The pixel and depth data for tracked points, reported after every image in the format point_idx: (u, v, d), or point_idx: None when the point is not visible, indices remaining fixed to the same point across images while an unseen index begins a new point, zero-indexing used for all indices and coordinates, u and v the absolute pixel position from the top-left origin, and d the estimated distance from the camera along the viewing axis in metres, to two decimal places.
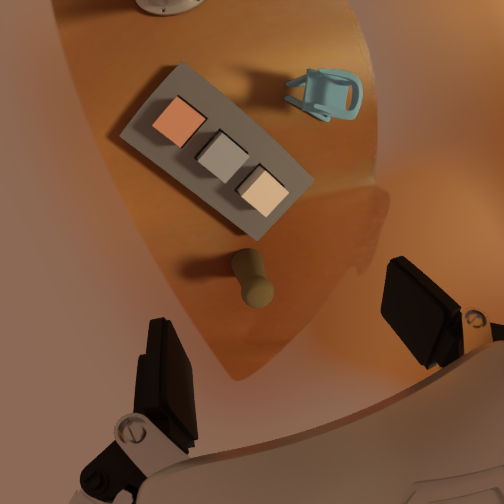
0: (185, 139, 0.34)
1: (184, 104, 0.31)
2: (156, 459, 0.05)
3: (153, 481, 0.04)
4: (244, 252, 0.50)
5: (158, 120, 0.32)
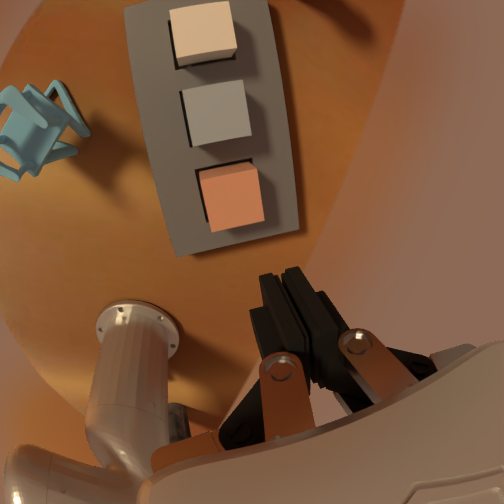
0: (243, 173, 0.23)
1: (210, 216, 0.25)
2: (283, 403, 0.06)
3: (153, 481, 0.04)
4: None
5: (253, 220, 0.26)
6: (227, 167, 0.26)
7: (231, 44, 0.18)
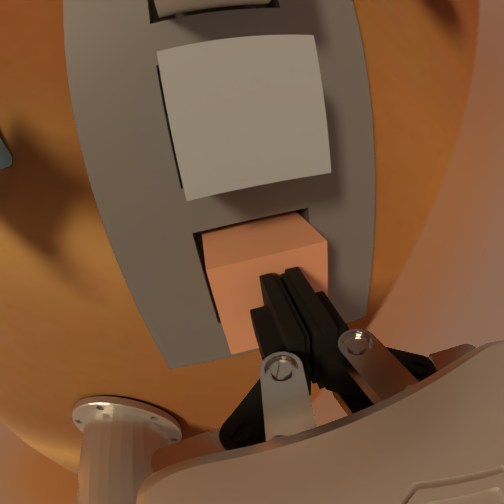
0: (299, 252, 0.11)
1: (229, 332, 0.12)
2: (284, 403, 0.06)
3: (153, 481, 0.04)
4: None
5: None
6: (258, 225, 0.14)
7: None
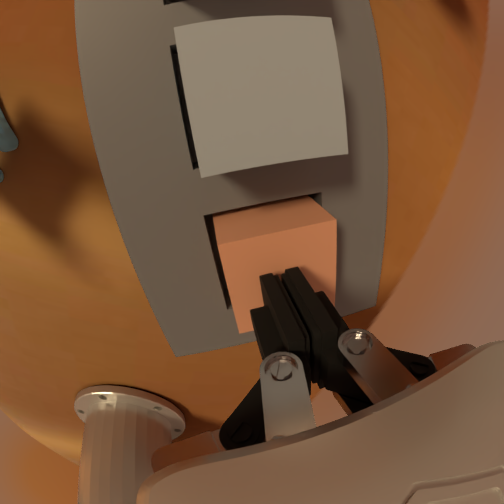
0: (309, 229, 0.11)
1: (238, 310, 0.13)
2: (284, 403, 0.06)
3: (153, 481, 0.04)
4: None
5: None
6: (268, 205, 0.14)
7: None
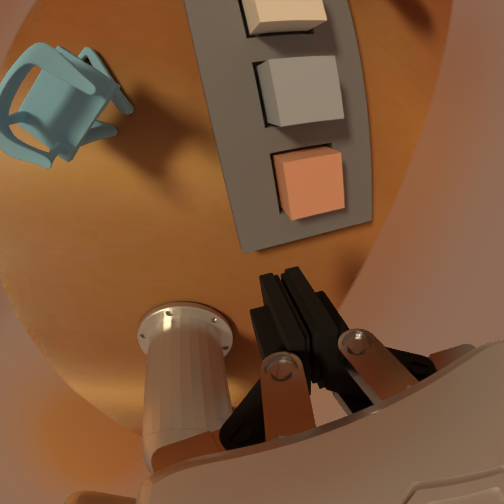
0: (327, 157, 0.21)
1: (291, 203, 0.22)
2: (284, 403, 0.06)
3: (153, 481, 0.04)
4: None
5: (333, 207, 0.23)
6: (303, 150, 0.23)
7: (321, 15, 0.14)
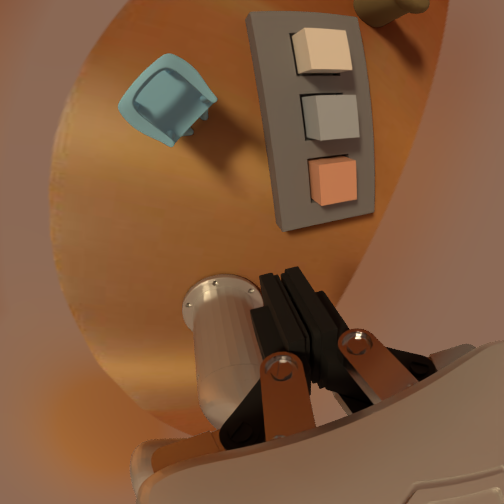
0: (347, 163, 0.30)
1: (322, 193, 0.32)
2: (284, 403, 0.06)
3: (153, 481, 0.04)
4: (368, 20, 0.25)
5: (349, 198, 0.33)
6: (328, 158, 0.33)
7: (348, 66, 0.24)
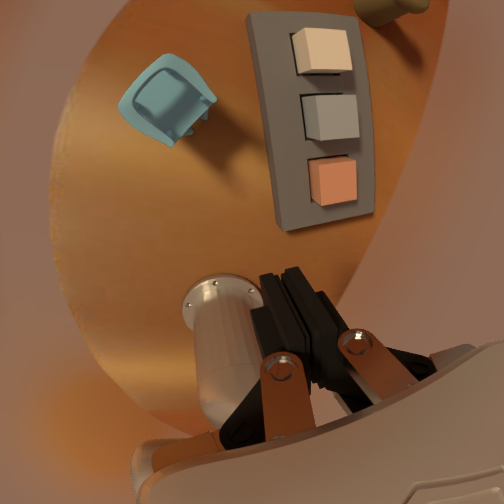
0: (347, 163, 0.30)
1: (322, 193, 0.32)
2: (284, 403, 0.06)
3: (153, 481, 0.04)
4: (368, 20, 0.25)
5: (349, 198, 0.33)
6: (328, 158, 0.33)
7: (348, 66, 0.24)
